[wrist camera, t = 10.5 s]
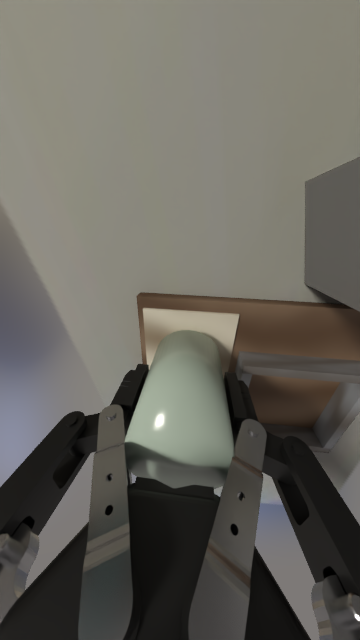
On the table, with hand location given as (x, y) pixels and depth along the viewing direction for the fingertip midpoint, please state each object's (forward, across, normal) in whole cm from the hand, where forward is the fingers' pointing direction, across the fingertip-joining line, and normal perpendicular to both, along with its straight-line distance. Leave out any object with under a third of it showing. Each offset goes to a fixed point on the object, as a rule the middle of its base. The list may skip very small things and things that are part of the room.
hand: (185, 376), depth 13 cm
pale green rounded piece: (+2, 0, +1) cm, 3 cm away
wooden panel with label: (+5, -6, +4) cm, 8 cm away
